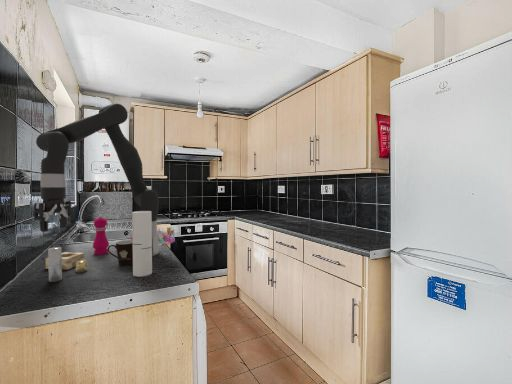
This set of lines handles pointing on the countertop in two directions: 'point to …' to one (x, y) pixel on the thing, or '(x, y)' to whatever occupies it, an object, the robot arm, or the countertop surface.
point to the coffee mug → (124, 252)
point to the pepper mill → (100, 236)
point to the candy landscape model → (164, 236)
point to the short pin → (81, 266)
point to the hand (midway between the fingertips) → (54, 229)
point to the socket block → (69, 259)
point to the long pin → (55, 264)
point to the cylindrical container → (142, 243)
